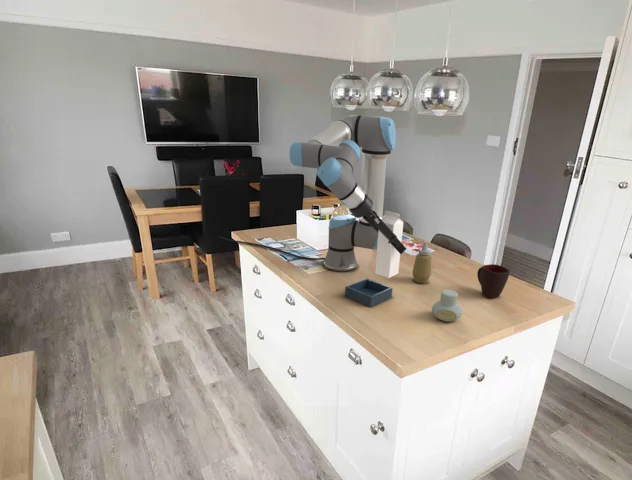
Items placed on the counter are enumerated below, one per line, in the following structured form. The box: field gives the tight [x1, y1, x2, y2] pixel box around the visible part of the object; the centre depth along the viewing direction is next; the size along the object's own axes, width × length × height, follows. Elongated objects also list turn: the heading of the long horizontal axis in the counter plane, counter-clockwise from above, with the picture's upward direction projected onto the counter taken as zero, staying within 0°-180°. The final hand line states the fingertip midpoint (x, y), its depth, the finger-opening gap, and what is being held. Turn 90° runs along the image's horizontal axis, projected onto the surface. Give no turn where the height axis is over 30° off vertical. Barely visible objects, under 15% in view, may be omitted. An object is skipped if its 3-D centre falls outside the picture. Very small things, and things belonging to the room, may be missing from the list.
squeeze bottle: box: [411, 241, 432, 284], centre depth 179 cm, size 8×8×18 cm
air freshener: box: [431, 289, 463, 322], centre depth 150 cm, size 11×8×10 cm
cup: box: [476, 264, 511, 299], centre depth 173 cm, size 10×14×12 cm
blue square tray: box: [344, 278, 393, 308], centre depth 163 cm, size 13×13×4 cm
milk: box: [375, 210, 404, 279], centre depth 143 cm, size 6×6×22 cm
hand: (397, 247), depth 145 cm, fingers closed on milk, 8 cm apart
